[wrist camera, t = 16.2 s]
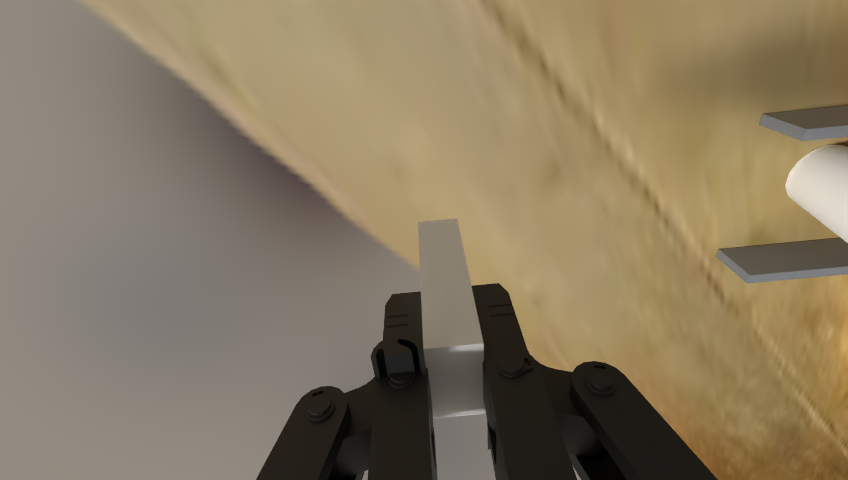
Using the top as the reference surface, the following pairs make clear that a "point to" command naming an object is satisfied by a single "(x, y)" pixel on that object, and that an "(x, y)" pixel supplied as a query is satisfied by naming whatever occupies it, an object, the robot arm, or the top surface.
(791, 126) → the box
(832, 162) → the foam cup
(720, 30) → the top surface
